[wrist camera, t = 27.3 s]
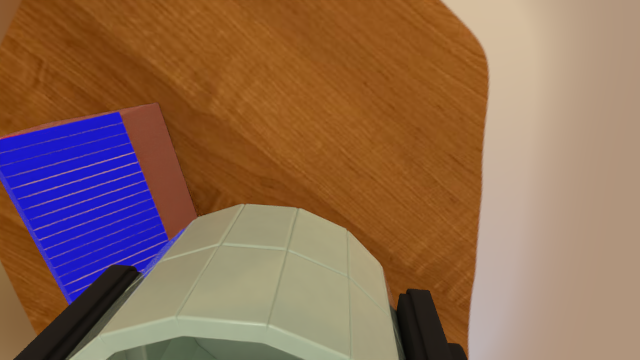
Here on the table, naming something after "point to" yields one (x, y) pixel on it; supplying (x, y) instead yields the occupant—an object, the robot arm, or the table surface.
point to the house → (97, 191)
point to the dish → (253, 295)
